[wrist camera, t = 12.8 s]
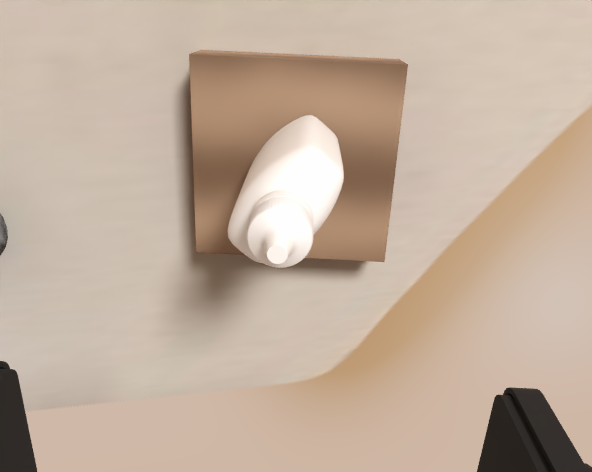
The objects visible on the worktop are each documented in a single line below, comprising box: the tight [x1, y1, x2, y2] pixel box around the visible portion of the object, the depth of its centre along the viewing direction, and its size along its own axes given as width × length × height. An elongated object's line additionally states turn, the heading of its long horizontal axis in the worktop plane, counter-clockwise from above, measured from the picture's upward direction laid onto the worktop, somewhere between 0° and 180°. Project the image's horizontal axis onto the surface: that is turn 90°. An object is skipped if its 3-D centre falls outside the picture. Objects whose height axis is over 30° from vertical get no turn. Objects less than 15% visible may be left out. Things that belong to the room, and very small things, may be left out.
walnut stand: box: [189, 50, 408, 262], centre depth 30 cm, size 11×11×3 cm
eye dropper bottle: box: [228, 115, 344, 268], centre depth 23 cm, size 4×6×12 cm
